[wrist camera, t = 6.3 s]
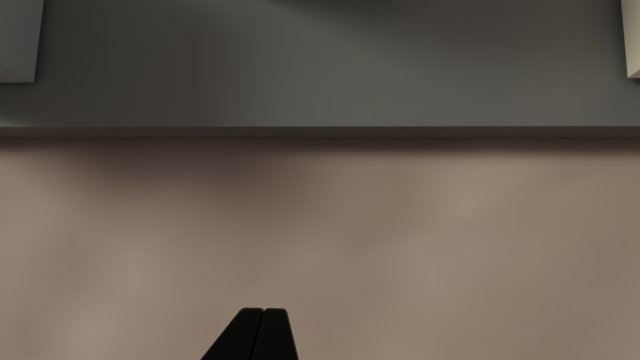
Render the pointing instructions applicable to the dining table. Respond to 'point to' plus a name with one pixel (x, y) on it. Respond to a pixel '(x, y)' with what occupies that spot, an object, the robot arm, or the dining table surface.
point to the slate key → (19, 39)
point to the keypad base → (326, 70)
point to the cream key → (632, 36)
